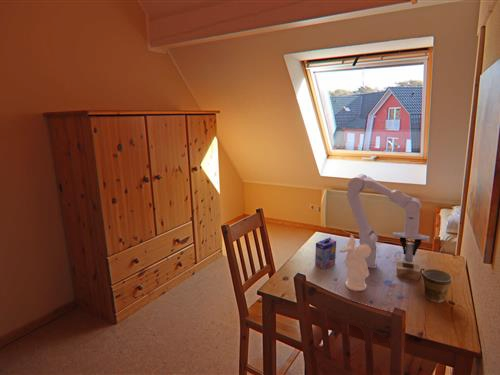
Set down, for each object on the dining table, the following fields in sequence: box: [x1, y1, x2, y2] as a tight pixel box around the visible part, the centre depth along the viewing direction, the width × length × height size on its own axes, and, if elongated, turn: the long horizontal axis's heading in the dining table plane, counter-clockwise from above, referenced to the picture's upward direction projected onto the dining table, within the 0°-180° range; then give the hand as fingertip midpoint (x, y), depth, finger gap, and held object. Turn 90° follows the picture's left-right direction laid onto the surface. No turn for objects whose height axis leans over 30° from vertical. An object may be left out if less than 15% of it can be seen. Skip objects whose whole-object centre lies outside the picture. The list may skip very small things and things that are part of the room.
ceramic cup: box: [420, 268, 453, 304], centre depth 127 cm, size 13×10×10 cm
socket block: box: [396, 259, 421, 281], centre depth 145 cm, size 9×9×4 cm
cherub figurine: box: [339, 233, 371, 292], centre depth 134 cm, size 12×12×22 cm
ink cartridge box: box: [314, 237, 337, 270], centre depth 155 cm, size 10×6×14 cm, turn 129°
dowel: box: [404, 242, 414, 262], centre depth 143 cm, size 3×3×8 cm
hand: (409, 254), depth 143 cm, fingers closed on dowel, 3 cm apart
